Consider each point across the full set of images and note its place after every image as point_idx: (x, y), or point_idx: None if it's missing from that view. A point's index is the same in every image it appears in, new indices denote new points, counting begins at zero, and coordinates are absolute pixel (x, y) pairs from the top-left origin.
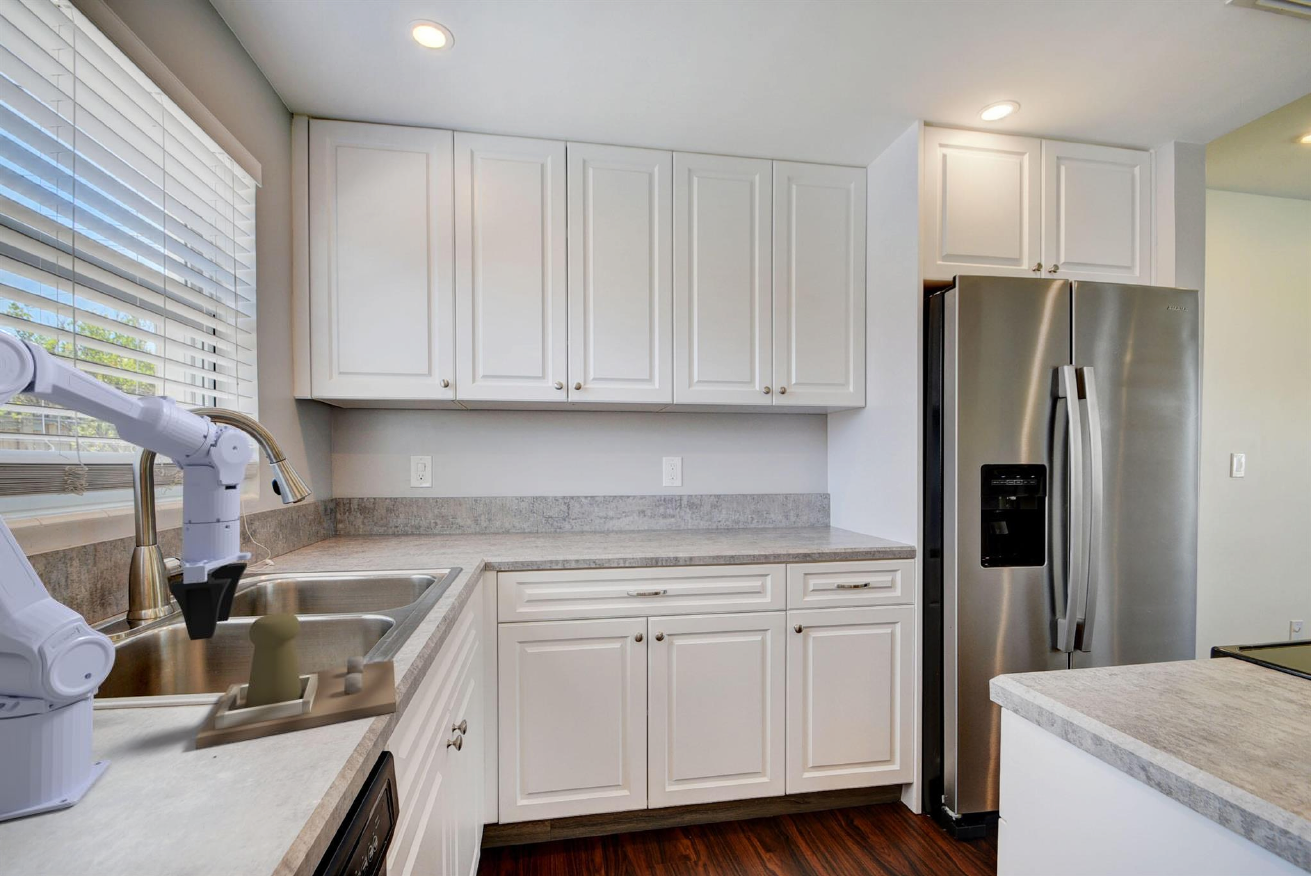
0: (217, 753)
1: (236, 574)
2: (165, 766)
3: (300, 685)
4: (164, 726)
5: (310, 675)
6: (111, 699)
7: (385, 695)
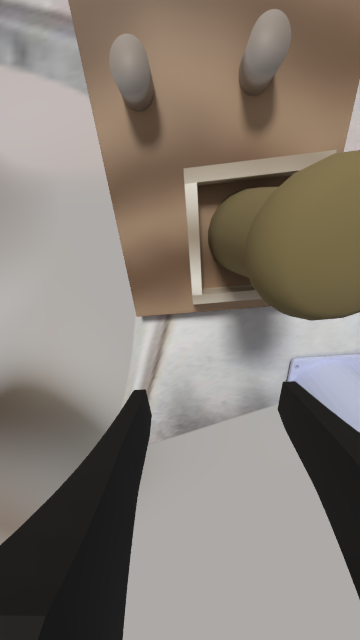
0: None
1: (83, 563)
2: None
3: (254, 188)
4: (216, 346)
5: (189, 183)
6: (122, 407)
7: None
